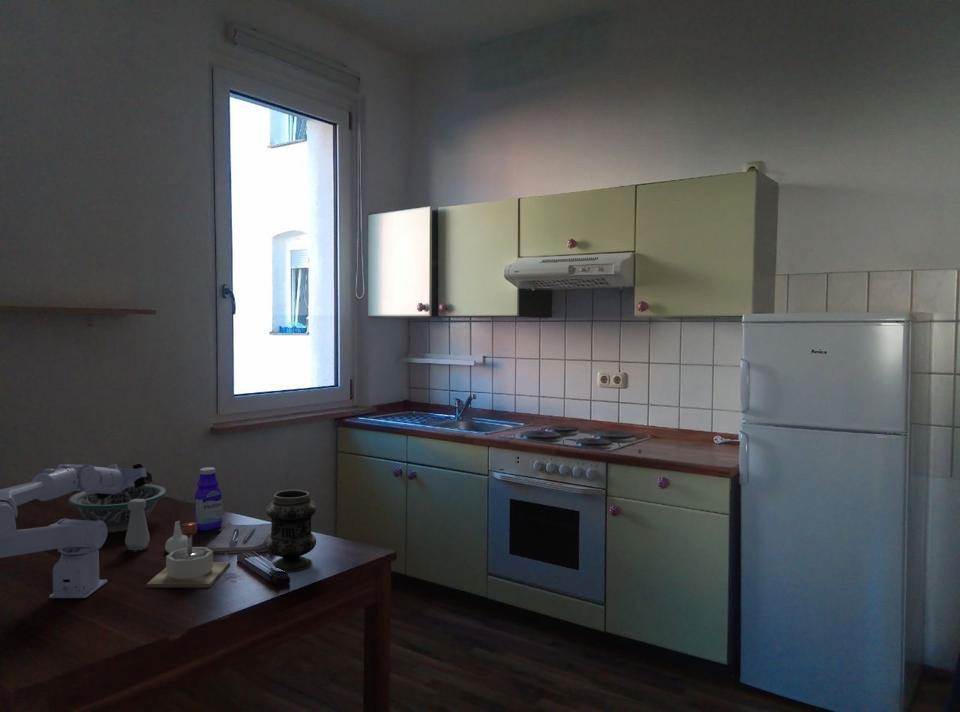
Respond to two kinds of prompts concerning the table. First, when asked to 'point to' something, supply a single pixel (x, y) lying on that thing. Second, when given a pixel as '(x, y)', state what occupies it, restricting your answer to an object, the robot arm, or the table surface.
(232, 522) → the table surface
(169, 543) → the garlic bulb
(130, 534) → the salt shaker
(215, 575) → the board
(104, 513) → the bowl
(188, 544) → the plunger
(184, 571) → the press carafe
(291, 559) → the apothecary jar
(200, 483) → the bottle
